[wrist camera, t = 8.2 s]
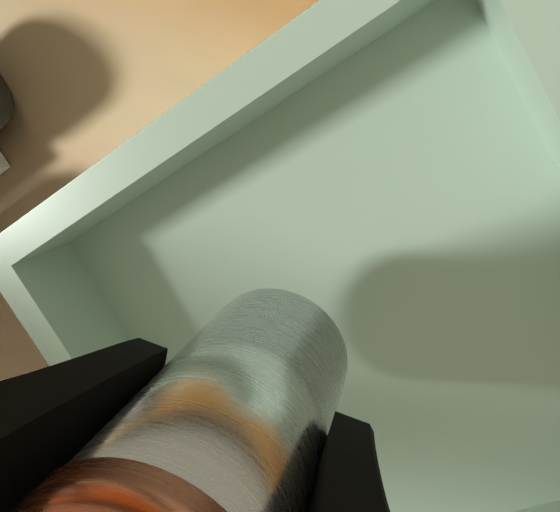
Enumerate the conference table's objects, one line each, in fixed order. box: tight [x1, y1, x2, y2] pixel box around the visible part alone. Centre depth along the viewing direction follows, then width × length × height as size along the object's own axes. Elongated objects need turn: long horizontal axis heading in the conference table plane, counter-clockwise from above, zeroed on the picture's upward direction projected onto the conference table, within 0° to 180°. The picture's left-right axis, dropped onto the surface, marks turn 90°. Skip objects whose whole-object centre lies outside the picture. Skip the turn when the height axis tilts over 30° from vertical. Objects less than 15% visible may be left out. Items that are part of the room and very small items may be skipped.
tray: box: [0, 0, 560, 512], centre depth 12 cm, size 14×14×3 cm
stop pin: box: [12, 288, 348, 512], centre depth 8 cm, size 3×3×7 cm
